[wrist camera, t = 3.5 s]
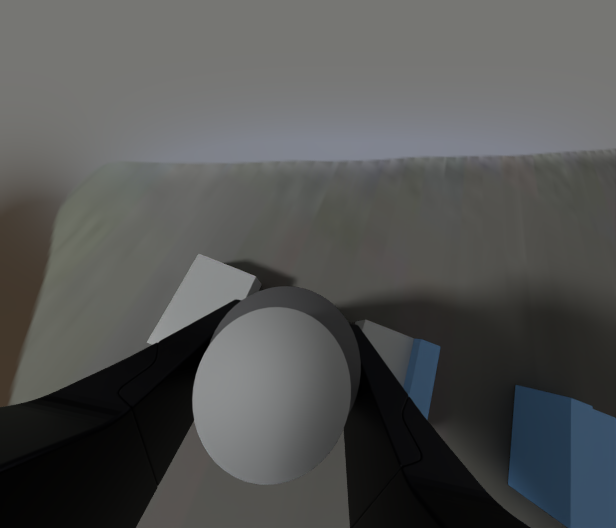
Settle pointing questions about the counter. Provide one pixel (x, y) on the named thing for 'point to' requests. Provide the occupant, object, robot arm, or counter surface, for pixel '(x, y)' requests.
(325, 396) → the grey bottle
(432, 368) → the blue and white blocks
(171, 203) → the counter surface
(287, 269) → the counter surface
